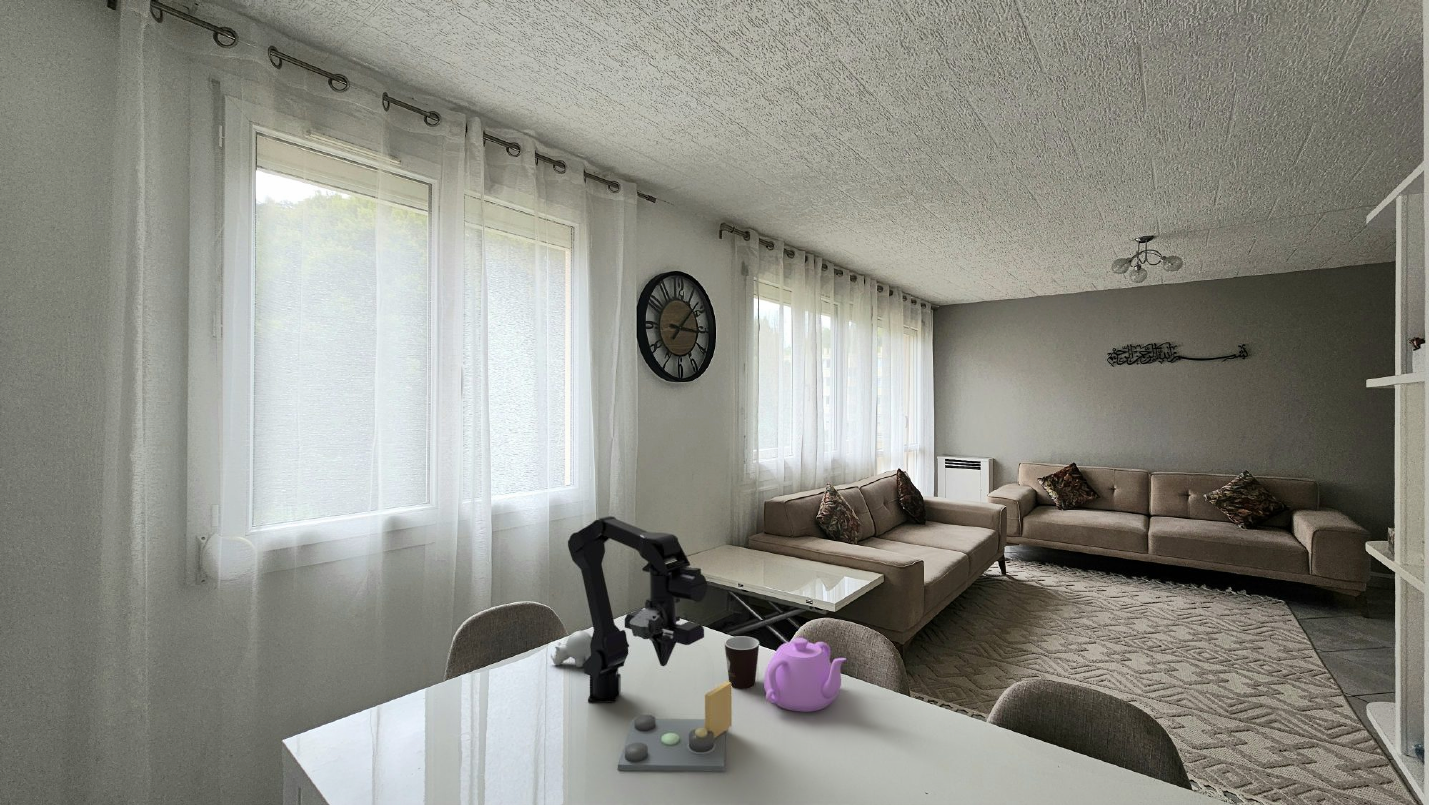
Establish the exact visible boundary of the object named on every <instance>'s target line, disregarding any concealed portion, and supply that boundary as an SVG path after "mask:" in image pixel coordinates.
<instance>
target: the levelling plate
mask: <svg viewBox="0 0 1429 805" xmlns="http://www.w3.org/2000/svg"><path fill="white" fill-rule="evenodd" d="M697 728H705V718H656V717H655V716H654V715H652V714H649V713H647V714H646V713H644V714H640V715H637V716H636V717H635V718H634V717H633V719H632V721H631V724H630V727H629V729H628V733H627V736H626V740H625V742H624V744H623V749H622V751H621V754H620V757H619V760H618V763H617V770H618V771H661V772H662V771H664V772H665V771H668V772H669V771H670V772H675V771H676V772H677V771H678V772H679V771H680V772H725V758H726V757H725V755H726V752H725V751H726V749H725V748H726V730H725V731H724V732H723V733H721V734H720V735H718V736H717V737H716V738H714V747H713V748H712V749H711V750H709V751H707V752H695V751H693V750H691V749H690V748H689V733H690V732H691V731H692V730H695V729H697Z"/></svg>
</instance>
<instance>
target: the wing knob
mask: <svg viewBox="0 0 1429 805" xmlns="http://www.w3.org/2000/svg"><path fill="white" fill-rule="evenodd" d="M732 708H733V707H732V687H731V682H729V680H726V681H725V682H722V684H720V685H718V686H717V687H715V688H713V689H711V690H710V691H708V692H707V693H705V694H704V710H705V711H704V719H705V728H697V729H695V730H692V731H691V732H690V733H689V748H690V749H691V750H693V751H695V752H707V751H709V750H711V749H712V748H713V747H714V738H716V737H717V736H718V735H720V734H721V733H723V732H724V731H725V732H726V731H727V730H728V729H729V728H731V727H732V725H733V724H732V720H733V719H732V716H733V714H732V713H733V712H732Z"/></svg>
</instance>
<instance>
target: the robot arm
mask: <svg viewBox="0 0 1429 805" xmlns="http://www.w3.org/2000/svg"><path fill="white" fill-rule="evenodd" d="M610 540H612V541H615V542H617V543H619V544H622V545H624V546H626V547H628V548H631V549H633V550H635V551H637V553H639V555H640V556H639V557H641V558H642V559H643V561H646V562H647V564H646V565H645V566H643V567H642V568H641V570H642V571H643V572H646V573H649V598H646V600H645V603H644V609H642V608H640V609H637V610H634V611H632V612H629V613H627V614H626V616H625V618H624V628H625V629H629V630H631V633H632V636H633V637H638V638H641V639H643V640H648V639H649V641H650V642H651V643H652V645H653V648H654V650H655V654H656V656H657V658H658V662H659V665H660V667H661V666H662V667H665V666H667V665H668V662H669V660H670V657H671V655H672V654H673V653H672V652H673V651H674V649H675V646H676V644H680V645H683V646H690V645H692V644H693V643H696V642H697V641H700V640H702V639H704V638H705V627H704V626H703V625H702V624H701V623H698V622H694V621H687V622H684V623H682V624H680V623H677V622H679V621H681V615H679V614H677V603H680V601H681V600H686V601H689V602H692V603H700V602H702V601H703V600H704V598H705V596H706V594H707V593H708V582H707V578H706V576H704V575H703V574H702V569H701V568H700V567H690V566H691V563H690V561H689V559H688V557H687V556H686V553H685V551H684V550H683V547H682V546H681V544H680V542H679V538H678V537H677V536H676V535H675V534H673V533H666V532H654V531H653V532H652V531H651V532H650V531H646V530H644V529H643V528H639V527H637V526H635V525H632V524H629V523H627V522H624V521H622V520H619V519H618V518H616V517H615V516H612V515H609V516H603V517H598V518H596V519H594V521H592V522H591V523H590V524H589V525H587V526H585V527H582V529H580V530H578V531H576V532H573V533H572V534H571V535H570V537H569V539H568V541H567V548H568V551H569V554H570V556H571V559H572V561H573V562H574V564H575V565H576V566H577V567H578V568H579V569H580V572H581V575H582V580H583V585H584V590H585V594H586V595H585V596H586V600H587V603H588V604H587V605H588V609H589V614H590V618H591V623H592V629H593V632H592V635H591V637H592V639H591V643H590V650H591V655H590V657H589V658H588V659H587V660H586V661H585V662H584V663H583V666H582V669H583V673H584V674H585V675H587V676H589V697H588V698H587V702H588V703H615V702H616V701H617V698H618V697H619V696H620V693H621V690H622V681H621V680H622V676H621V673H619V669H620V668H622V667H624V666H625V662H626V660H627V657H628V655H629V648H630V644H629V642H628V639H627V632H626V630H624V629H622V630H621V629H620V628H619V627H618V626H616V624H615V620H614V616H613V610H612V605H611V601H610V596H609V594H608V587H607V583H606V578H605V573H604V569H603V565H602V564H603V561H604V557H605V555H606V547H605V544H606V543H607V542H608V541H610Z"/></svg>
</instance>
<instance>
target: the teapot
mask: <svg viewBox="0 0 1429 805" xmlns="http://www.w3.org/2000/svg"><path fill="white" fill-rule="evenodd" d="M846 660H847V658H846V657H837V658H834V659H833V661H832V663H831V648H830V645H829V644H828V643H826V642H824V641H817V642H815V643H812V642H809V640H808V639H806V638H803V637H796V638H793V640H792V641H787V642H784V643H783V644H781V645H780V646H779V647H778V648H777V649H776V651H775V652H774V653H773V655H772V657H771V659H770V661H769V663H768V664H767V666H766V670H765V674H764V679H763V687H764V690H765V693H766V694H765V699H766V701H767V702H768V703H771V704H772V703H773V704H776V705H777V706H779V707H781V708H783V709H786V710H790V711H793V712H799V713H800V712H803V713H805V712H808V713H809V712H816V711H819V710H823V709H825V708H826V707H828V706H829V705H830V704H831V703H832V702H833V701H834V700H835V698H836V697H837V696H838V694H839V691H840V689H841V688H842V687H841V686H842V675H841V674H842V673H841V667H842V664H843V663H844V661H846Z"/></svg>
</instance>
